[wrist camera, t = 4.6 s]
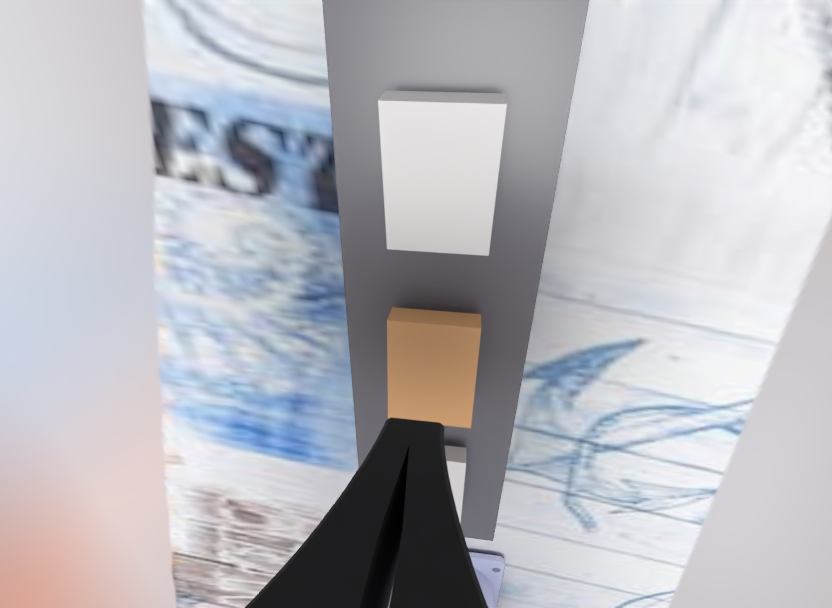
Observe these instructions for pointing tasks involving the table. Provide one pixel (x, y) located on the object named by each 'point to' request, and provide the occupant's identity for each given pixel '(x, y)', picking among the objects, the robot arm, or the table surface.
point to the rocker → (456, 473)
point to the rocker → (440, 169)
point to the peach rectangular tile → (432, 365)
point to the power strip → (514, 205)
